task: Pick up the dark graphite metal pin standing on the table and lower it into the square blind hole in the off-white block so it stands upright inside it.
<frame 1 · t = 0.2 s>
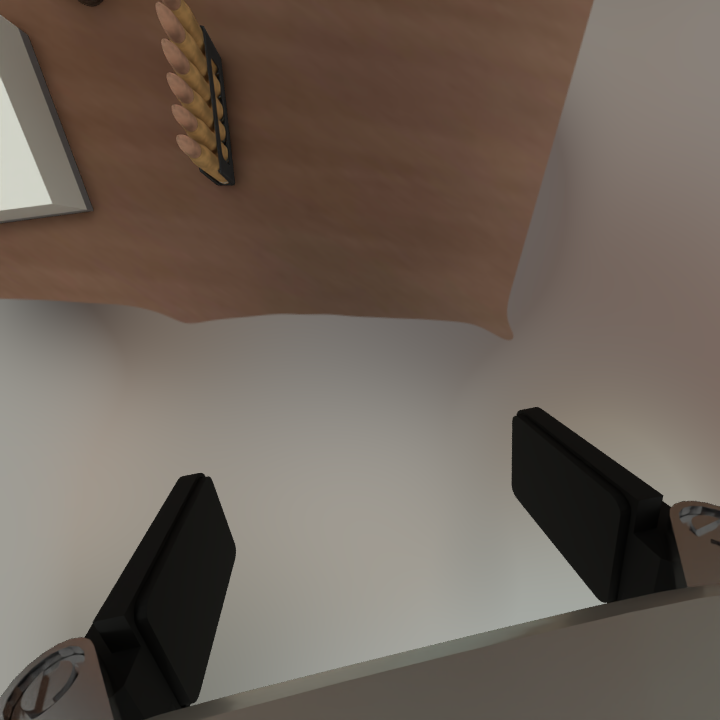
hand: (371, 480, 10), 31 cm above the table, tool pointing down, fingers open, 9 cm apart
ammunition clip: (219, 124, 32), on the table
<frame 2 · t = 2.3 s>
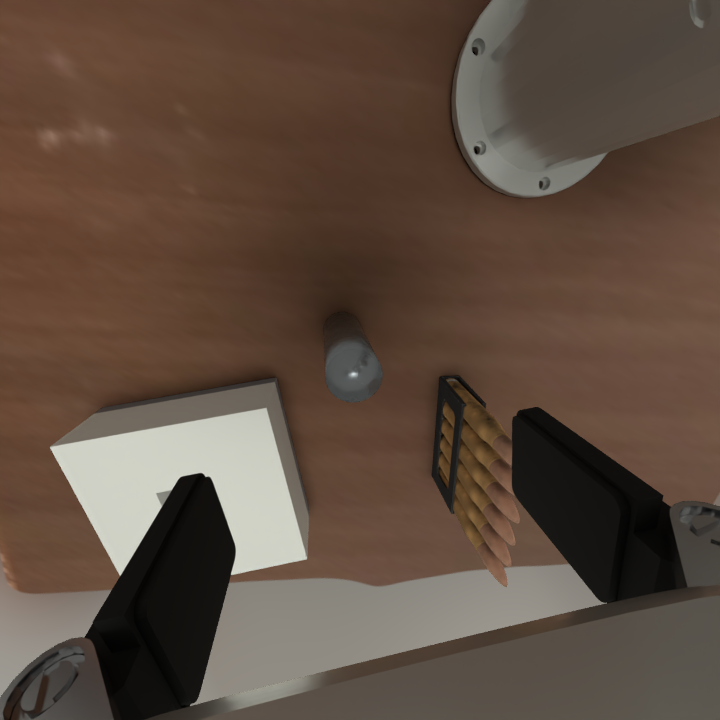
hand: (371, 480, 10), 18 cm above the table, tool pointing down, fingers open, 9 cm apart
pin: (342, 330, 27), on the table
ammunition clip: (444, 427, 31), on the table
socket block: (215, 463, 29), on the table
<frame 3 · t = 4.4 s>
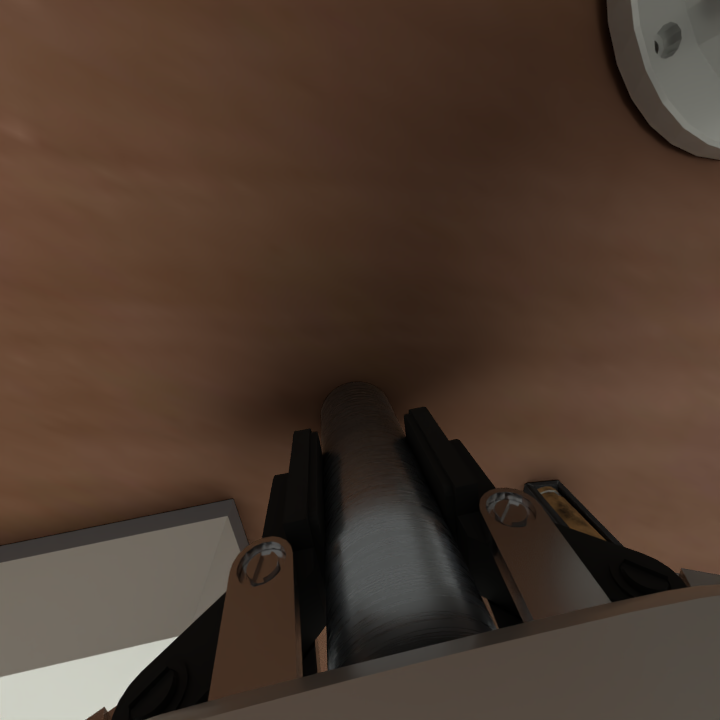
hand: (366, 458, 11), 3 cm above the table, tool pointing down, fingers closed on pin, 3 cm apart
pin: (356, 414, 14), on the table, touching gripper
ammunition clip: (523, 557, 19), on the table
socket block: (129, 638, 17), on the table
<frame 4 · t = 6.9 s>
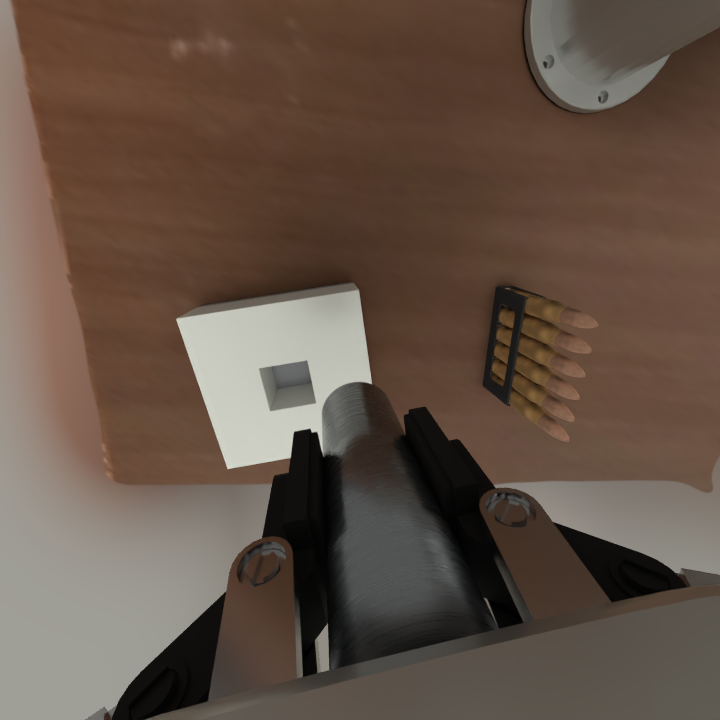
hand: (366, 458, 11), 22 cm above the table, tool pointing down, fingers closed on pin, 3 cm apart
pin: (356, 414, 14), point 19 cm above the table, touching gripper
ammunition clip: (496, 338, 34), on the table
socket block: (293, 363, 33), on the table
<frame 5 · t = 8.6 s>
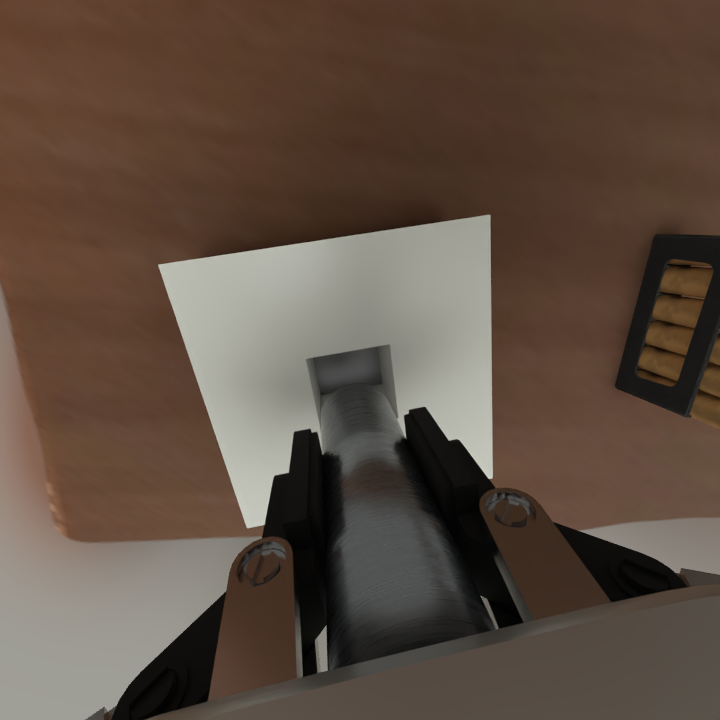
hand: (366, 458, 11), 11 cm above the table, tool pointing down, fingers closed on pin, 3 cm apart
pin: (356, 415, 14), point 8 cm above the table, touching gripper
ammunition clip: (642, 316, 23), on the table
socket block: (345, 355, 21), on the table
when the fingers open (6 cm above the table, at t = 9.9 s): pin drops 2 cm, resting on socket block.
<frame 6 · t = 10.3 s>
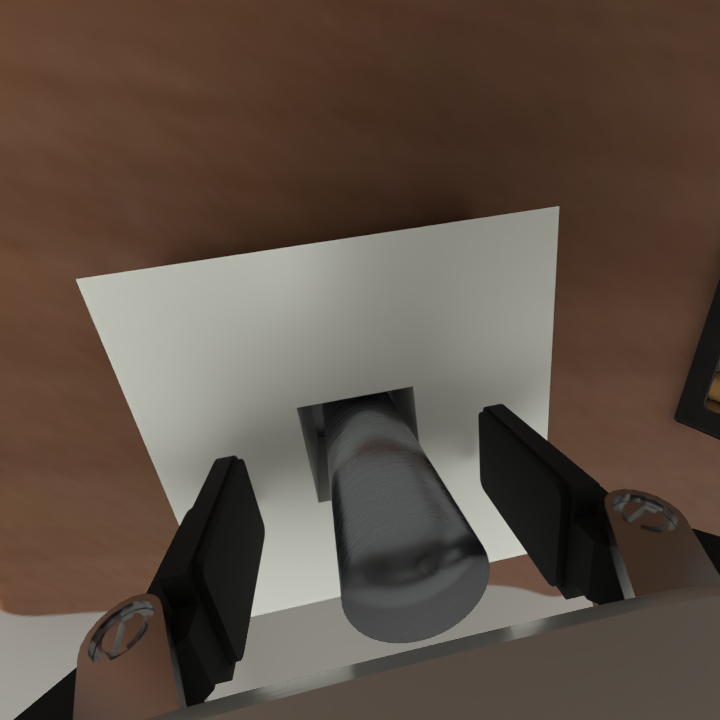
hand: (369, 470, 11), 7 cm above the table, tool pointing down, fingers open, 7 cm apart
pin: (352, 395, 16), point 1 cm above the table, touching socket block
ammunition clip: (710, 334, 19), on the table
socket block: (349, 386, 17), on the table
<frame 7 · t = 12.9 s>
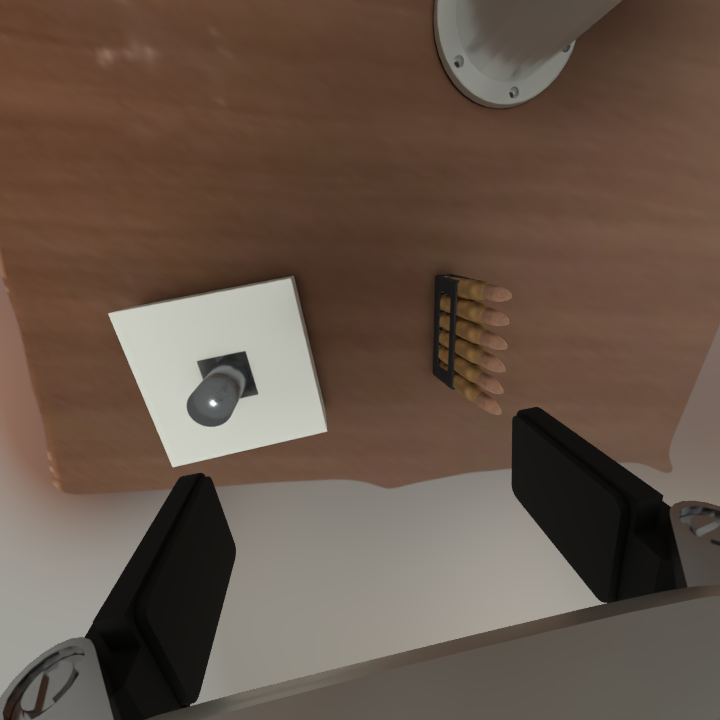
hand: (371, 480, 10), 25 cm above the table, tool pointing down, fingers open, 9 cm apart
pin: (239, 362, 32), point 1 cm above the table, touching socket block
ammunition clip: (441, 326, 35), on the table
socket block: (241, 359, 33), on the table
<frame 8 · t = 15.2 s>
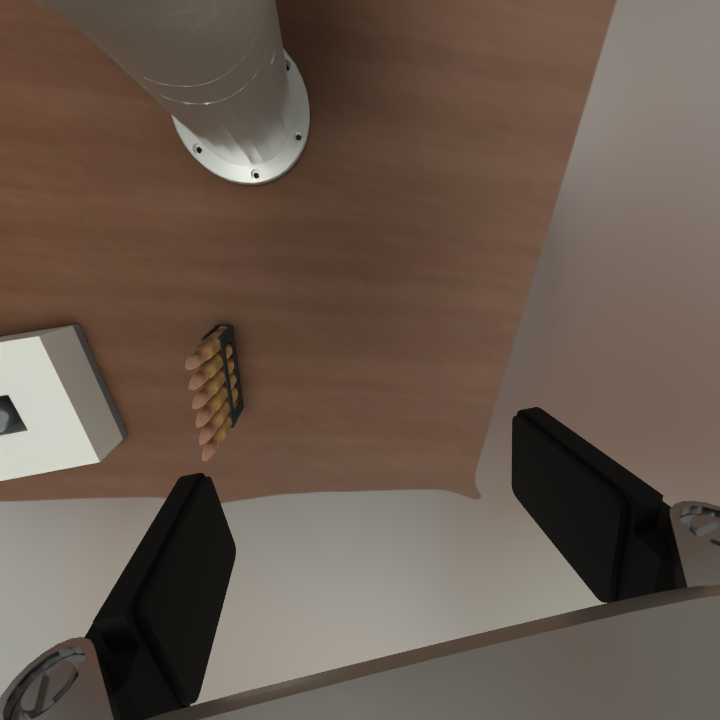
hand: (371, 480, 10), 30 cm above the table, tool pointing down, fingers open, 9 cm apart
pin: (33, 397, 37), point 1 cm above the table, touching socket block
ammunition clip: (230, 368, 40), on the table
socket block: (40, 393, 38), on the table
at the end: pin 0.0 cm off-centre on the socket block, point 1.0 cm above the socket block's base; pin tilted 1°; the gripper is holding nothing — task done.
